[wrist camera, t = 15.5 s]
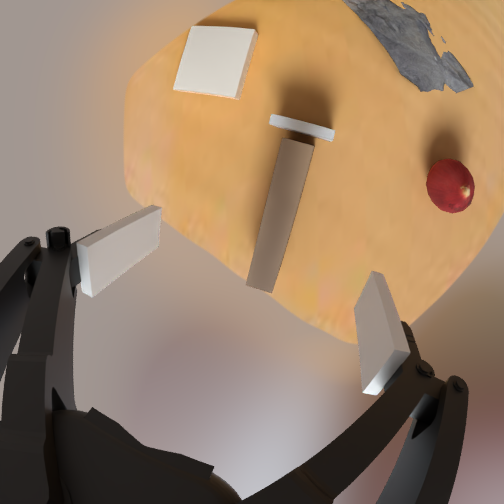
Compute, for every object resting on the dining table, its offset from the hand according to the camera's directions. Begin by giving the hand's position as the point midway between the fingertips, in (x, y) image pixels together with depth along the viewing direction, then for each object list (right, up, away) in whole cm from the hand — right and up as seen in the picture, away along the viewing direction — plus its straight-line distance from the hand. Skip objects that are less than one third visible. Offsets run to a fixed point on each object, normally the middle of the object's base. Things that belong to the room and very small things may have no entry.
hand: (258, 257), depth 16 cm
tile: (-6, +19, +12) cm, 23 cm away
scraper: (+4, +6, +16) cm, 17 cm away
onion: (+22, +9, +10) cm, 26 cm away
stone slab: (+18, +26, +4) cm, 32 cm away
